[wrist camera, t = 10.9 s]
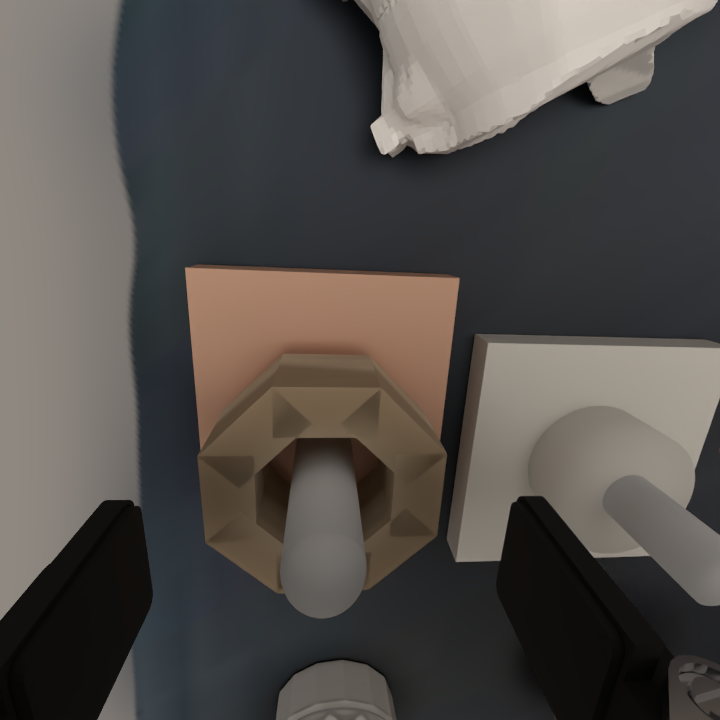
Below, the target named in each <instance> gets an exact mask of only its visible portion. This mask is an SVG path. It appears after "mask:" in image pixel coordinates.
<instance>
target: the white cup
mask: <svg viewBox="0 0 720 720" xmlns="http://www.w3.org/2000/svg"><path fill="white" fill-rule="evenodd" d="M276 720H396V715H395V710H394V704H393V699H392V694H391V692H390V689H389V687H388V684H387V682H386V680H385V677H384V676H383V675H381V674H380V673H378V672H377V671H376V670H374V669H373V668H371V667H370V666H368V665H367V664H362V663H357V662H352V661H347V660H337V661H329V662H322V663H317V664H314V665H312V666H310V667H308V668H306V669H304V670H302V671H300V672H298V673H296V674H295V675H293V677H292V678H291V679H290V680H289V681H288V683H287V684H286V685H285V686H284V687H283V689H282V690H281V691H280V693H279V699H278V706H277V714H276Z"/></svg>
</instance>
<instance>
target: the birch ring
mask: <svg viewBox="0 0 720 720" xmlns="http://www.w3.org/2000/svg"><path fill="white" fill-rule="evenodd" d="M295 438H357V439H358V440H359V441H360V442H361V443H362V444H363V445H365V446H366V447H367V448H368V449H369V450H370V451H371V452H372V453H373V454H374V455H375V456H376V457H378V458H379V460H378V466H377V467H376V468H375V469H373V470H372V471H371V472H370V473H369V474H367V475H366V476H365V477H364V478H363V479H362V480H360V481H359V482H358V483H357V484H356V485H357V493H358V501H359V508H360V516H361V524H362V532H363V539H364V547H365V555H366V565H367V571H366V579H365V583H364V586H363V589H362V590H369V589H370V588H371V587H373V586H374V585H375V584H377V583H378V582H379V581H380V580H382V579H383V578H384V577H385V576H387V575H388V574H389V573H391V572H392V571H393V570H394V569H396V568H397V567H398V566H399V565H401V564H402V563H403V562H405V561H406V560H407V559H408V558H410V557H411V556H412V555H413V554H415V553H416V552H417V551H419V550H420V549H421V548H422V547H424V546H425V545H426V544H427V543H429V542H430V541H431V540H433V539H434V538H435V537H436V536H437V533H438V525H439V516H440V508H441V500H442V492H443V484H444V475H445V467H446V459H447V453H446V451H445V449H444V447H443V446H442V444H441V442H440V440H439V438H438V437H437V435H436V433H435V431H434V429H433V428H432V426H431V424H430V422H429V420H428V419H427V417H426V415H425V413H424V411H423V410H422V409H421V408H420V407H419V406H418V405H417V404H416V403H415V402H414V401H413V399H412V398H411V397H410V396H409V395H408V394H407V393H406V392H405V391H404V390H403V389H402V388H401V387H400V386H399V385H398V384H397V383H396V382H395V381H394V380H393V379H392V378H391V377H390V376H389V375H388V374H387V373H386V372H385V371H384V370H383V369H382V368H381V367H380V366H379V365H378V364H377V363H376V362H375V360H374V359H373V358H372V357H371V356H370V355H335V354H282V355H281V356H280V357H279V358H278V359H277V360H276V361H275V362H274V363H273V364H271V365H270V366H269V367H268V368H267V369H266V370H265V371H264V372H263V373H262V374H261V375H260V376H259V377H258V378H257V379H256V380H255V381H253V382H252V383H251V384H250V385H249V386H248V387H247V388H246V389H245V390H244V391H243V392H242V393H241V394H240V395H239V396H238V397H237V398H236V399H234V400H233V401H232V402H231V403H230V404H229V405H228V406H227V407H226V408H225V409H224V410H223V412H222V413H221V415H220V417H219V419H218V421H217V422H216V424H215V426H214V428H213V429H212V431H211V433H210V435H209V437H208V438H207V440H206V442H205V444H204V445H203V447H202V449H201V451H200V453H199V454H198V456H197V458H198V468H199V479H200V490H201V500H202V511H203V522H204V532H205V543H207V544H208V545H209V546H211V547H212V548H214V549H215V550H217V551H218V552H219V553H221V554H222V555H224V556H225V557H226V558H228V559H229V560H231V561H232V562H234V563H235V564H236V565H238V566H239V567H241V568H242V569H243V570H245V571H246V572H248V573H249V574H251V575H252V576H253V577H255V578H256V579H258V580H259V581H260V582H262V583H263V584H265V585H266V586H268V587H269V588H270V589H272V590H273V591H275V592H276V593H284V591H283V588H282V584H281V578H280V565H281V557H282V549H283V541H284V534H285V526H286V518H287V511H288V503H289V495H290V488H291V484H290V483H289V482H288V481H286V480H285V479H284V478H283V477H281V476H280V475H279V474H278V473H277V472H275V471H274V470H273V469H272V468H270V461H271V460H272V459H273V458H274V457H275V456H276V455H277V454H279V453H280V452H281V451H282V450H283V449H284V448H285V447H286V446H288V445H289V444H290V443H291V442H292V441H293V440H294V439H295Z"/></svg>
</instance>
